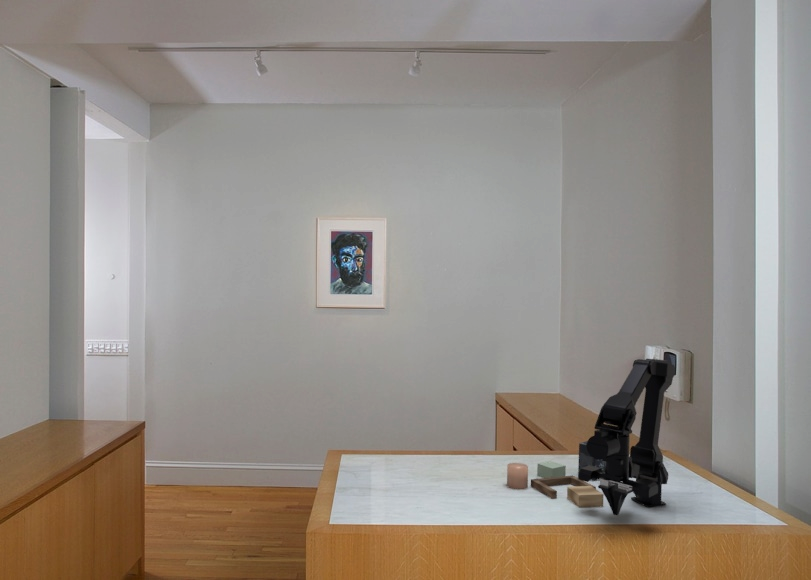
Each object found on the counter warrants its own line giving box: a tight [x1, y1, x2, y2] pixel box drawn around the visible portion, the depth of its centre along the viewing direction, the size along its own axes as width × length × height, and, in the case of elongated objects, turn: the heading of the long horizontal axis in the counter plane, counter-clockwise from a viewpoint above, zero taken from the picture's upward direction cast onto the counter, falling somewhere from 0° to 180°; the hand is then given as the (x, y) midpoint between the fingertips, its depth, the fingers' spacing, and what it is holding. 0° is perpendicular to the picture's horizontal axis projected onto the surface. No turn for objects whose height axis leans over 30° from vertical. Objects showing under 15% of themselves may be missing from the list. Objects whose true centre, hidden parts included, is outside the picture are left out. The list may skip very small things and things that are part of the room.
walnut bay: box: [530, 475, 597, 500], centre depth 166 cm, size 11×14×2 cm
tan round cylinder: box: [506, 462, 529, 491], centre depth 168 cm, size 6×6×6 cm
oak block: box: [566, 485, 604, 508], centre depth 156 cm, size 7×7×4 cm
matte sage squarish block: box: [536, 460, 567, 478], centre depth 178 cm, size 6×6×4 cm
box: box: [577, 440, 605, 482], centre depth 180 cm, size 8×6×11 cm
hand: (616, 514), depth 144 cm, fingers closed
